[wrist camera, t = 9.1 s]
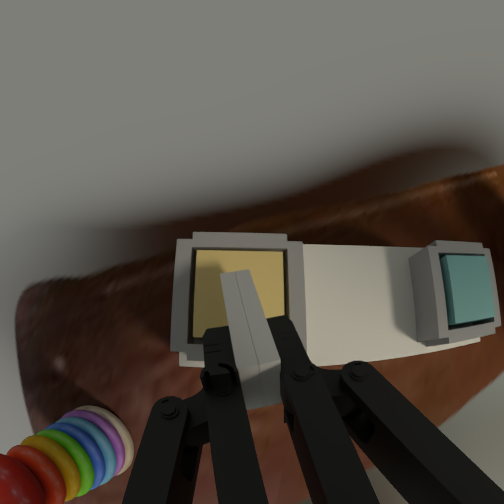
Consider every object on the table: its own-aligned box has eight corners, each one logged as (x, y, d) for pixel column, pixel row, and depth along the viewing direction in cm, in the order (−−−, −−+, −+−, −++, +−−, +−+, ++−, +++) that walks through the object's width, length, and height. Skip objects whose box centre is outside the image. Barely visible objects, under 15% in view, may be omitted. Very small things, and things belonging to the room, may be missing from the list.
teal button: (462, 268, 22) (486, 256, 19) (469, 323, 21) (495, 316, 17) (422, 268, 22) (446, 255, 19) (429, 329, 20) (455, 323, 17)
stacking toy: (91, 477, 21) (-13, 546, 3) (59, 413, 23) (-73, 434, 5) (150, 464, 22) (61, 563, 4) (114, 395, 24) (-23, 423, 7)
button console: (426, 272, 31) (486, 238, 20) (433, 348, 28) (501, 337, 17) (197, 271, 29) (178, 224, 19) (194, 362, 26) (169, 367, 16)
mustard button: (275, 268, 21) (282, 251, 18) (276, 340, 20) (284, 338, 16) (202, 266, 21) (197, 250, 18) (199, 339, 19) (192, 336, 16)
